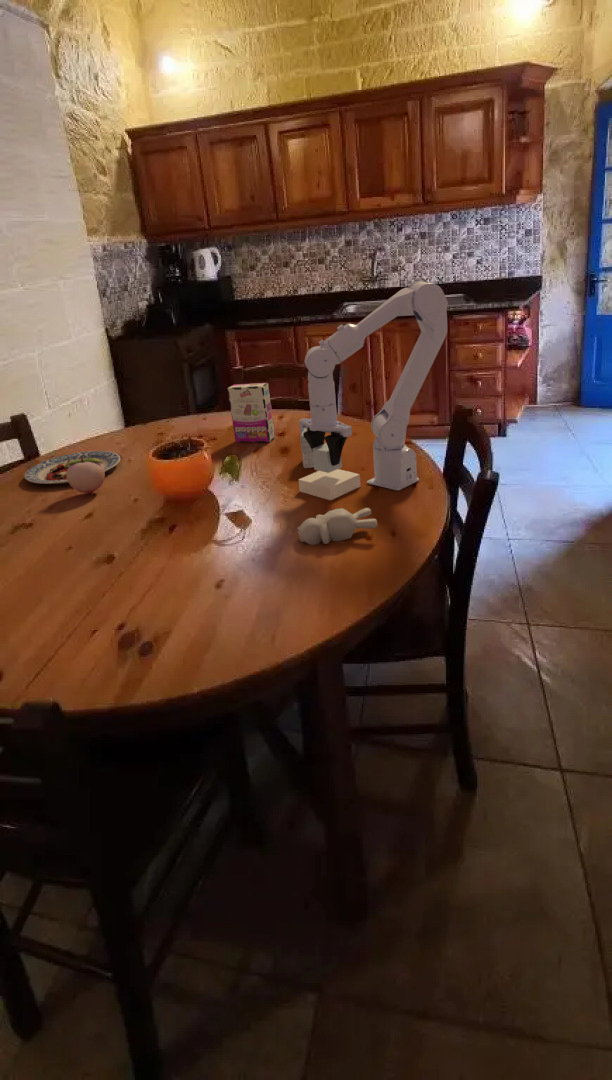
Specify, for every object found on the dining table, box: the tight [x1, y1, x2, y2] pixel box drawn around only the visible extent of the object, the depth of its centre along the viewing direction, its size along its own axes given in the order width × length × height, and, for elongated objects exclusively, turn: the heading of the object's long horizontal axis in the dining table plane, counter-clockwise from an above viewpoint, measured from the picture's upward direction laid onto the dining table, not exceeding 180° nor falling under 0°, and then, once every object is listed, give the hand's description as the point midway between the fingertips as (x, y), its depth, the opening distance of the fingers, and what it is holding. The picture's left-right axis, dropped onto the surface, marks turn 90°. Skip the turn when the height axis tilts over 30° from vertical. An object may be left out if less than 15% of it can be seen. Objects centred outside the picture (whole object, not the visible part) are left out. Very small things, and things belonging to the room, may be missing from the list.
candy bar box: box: [227, 382, 276, 444], centre depth 191 cm, size 11×5×16 cm, turn 73°
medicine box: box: [300, 428, 314, 469], centre depth 169 cm, size 8×4×9 cm, turn 179°
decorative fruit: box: [64, 456, 106, 495], centre depth 164 cm, size 9×8×10 cm
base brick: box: [298, 468, 361, 501], centre depth 152 cm, size 10×10×3 cm
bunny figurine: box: [297, 507, 379, 546], centre depth 128 cm, size 10×5×15 cm
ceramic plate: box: [24, 450, 121, 485], centre depth 183 cm, size 26×26×3 cm
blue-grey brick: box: [312, 442, 343, 473], centre depth 150 cm, size 4×4×5 cm
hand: (327, 462), depth 150 cm, fingers closed on blue-grey brick, 4 cm apart
